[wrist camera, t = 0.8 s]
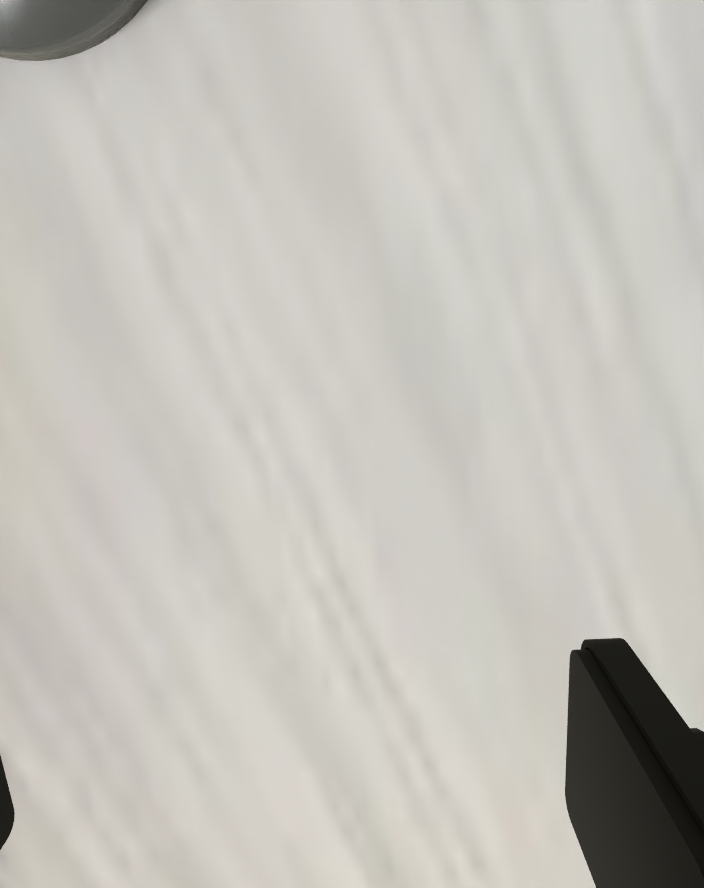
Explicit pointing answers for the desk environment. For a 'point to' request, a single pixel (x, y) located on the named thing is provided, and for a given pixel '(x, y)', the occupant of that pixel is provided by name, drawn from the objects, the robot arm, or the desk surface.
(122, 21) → the dial base
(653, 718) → the robot arm
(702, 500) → the desk surface
